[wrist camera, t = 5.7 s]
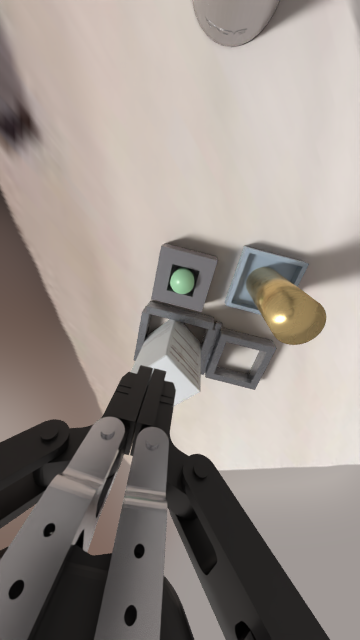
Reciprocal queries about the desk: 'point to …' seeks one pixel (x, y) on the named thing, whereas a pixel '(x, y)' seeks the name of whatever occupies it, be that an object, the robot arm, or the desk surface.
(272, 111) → the desk surface
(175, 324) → the supplement box
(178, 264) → the grey square socket block
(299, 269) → the tote tray
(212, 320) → the gray compartment tray
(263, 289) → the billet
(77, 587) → the robot arm
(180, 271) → the button
